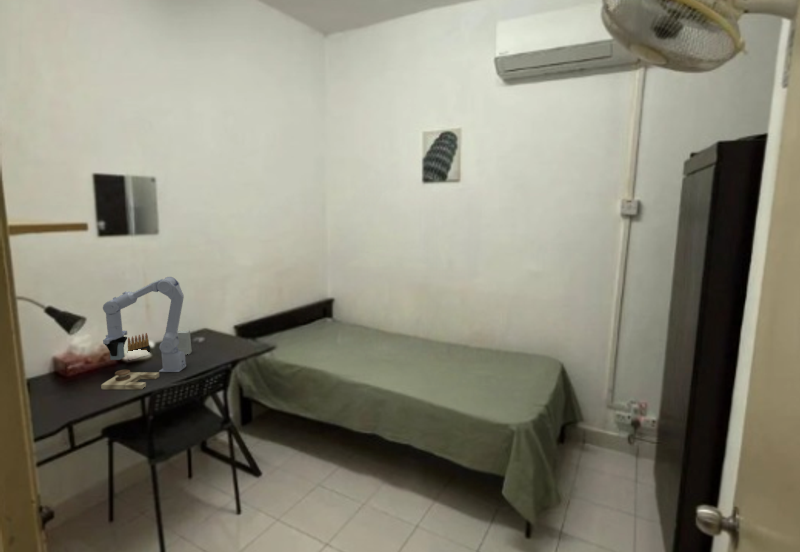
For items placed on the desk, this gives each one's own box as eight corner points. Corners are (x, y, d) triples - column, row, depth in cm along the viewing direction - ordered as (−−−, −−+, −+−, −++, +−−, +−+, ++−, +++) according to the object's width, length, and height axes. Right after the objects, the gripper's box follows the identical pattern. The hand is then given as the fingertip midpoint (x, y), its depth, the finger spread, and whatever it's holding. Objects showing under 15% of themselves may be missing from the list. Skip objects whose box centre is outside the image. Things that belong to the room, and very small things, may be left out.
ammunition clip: (129, 360, 216) (127, 337, 214) (127, 360, 217) (125, 337, 215) (150, 354, 225) (149, 332, 223) (148, 354, 226) (146, 332, 224)
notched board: (159, 376, 197) (158, 366, 196) (142, 389, 183) (141, 378, 182) (121, 376, 196) (120, 366, 196) (101, 389, 183) (100, 378, 182)
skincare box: (191, 352, 230) (190, 330, 228) (189, 354, 226) (187, 332, 224) (179, 352, 229) (178, 330, 227) (176, 355, 225) (175, 333, 223)
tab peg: (124, 356, 202) (123, 342, 201) (119, 359, 198) (117, 345, 197) (115, 356, 202) (114, 342, 201) (110, 359, 198) (109, 345, 197)
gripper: (115, 321, 204) (118, 349, 207) (94, 330, 190) (97, 359, 192) (130, 321, 204) (133, 349, 207) (111, 330, 190) (114, 359, 192)
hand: (117, 354), depth 199 cm, fingers closed on tab peg, 4 cm apart
